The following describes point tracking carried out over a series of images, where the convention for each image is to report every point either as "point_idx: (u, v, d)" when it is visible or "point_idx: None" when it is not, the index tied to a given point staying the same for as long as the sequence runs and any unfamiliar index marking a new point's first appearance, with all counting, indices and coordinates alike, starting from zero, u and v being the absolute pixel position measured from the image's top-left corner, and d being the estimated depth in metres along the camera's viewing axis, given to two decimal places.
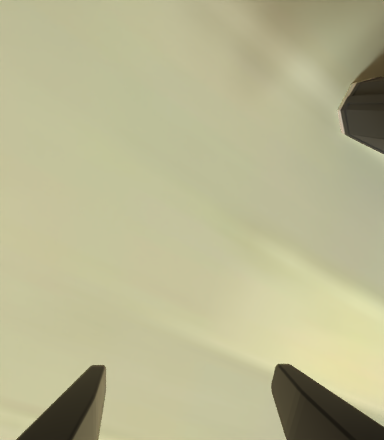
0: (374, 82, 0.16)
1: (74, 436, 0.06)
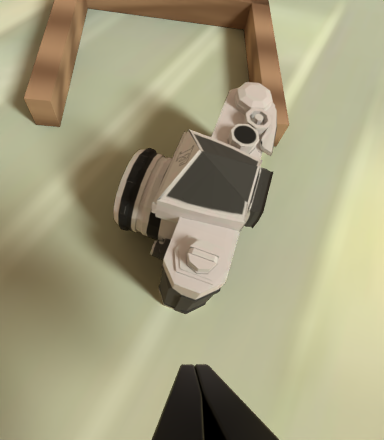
0: (166, 300, 0.20)
1: (204, 431, 0.06)
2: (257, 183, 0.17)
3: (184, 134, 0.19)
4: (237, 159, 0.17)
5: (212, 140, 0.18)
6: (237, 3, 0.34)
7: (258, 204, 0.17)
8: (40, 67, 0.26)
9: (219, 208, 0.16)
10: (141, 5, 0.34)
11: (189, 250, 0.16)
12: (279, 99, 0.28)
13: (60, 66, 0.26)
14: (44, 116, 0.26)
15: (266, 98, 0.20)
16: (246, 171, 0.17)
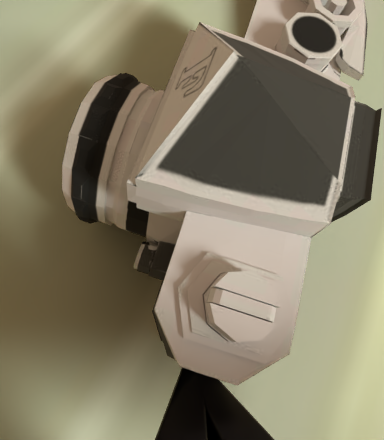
0: None
1: (207, 431, 0.06)
2: (350, 135, 0.08)
3: (190, 35, 0.09)
4: (312, 80, 0.08)
5: (250, 44, 0.09)
6: None
7: (356, 181, 0.08)
8: None
9: (276, 194, 0.07)
10: None
11: (212, 293, 0.07)
12: None
13: None
14: None
15: None
16: (332, 108, 0.08)
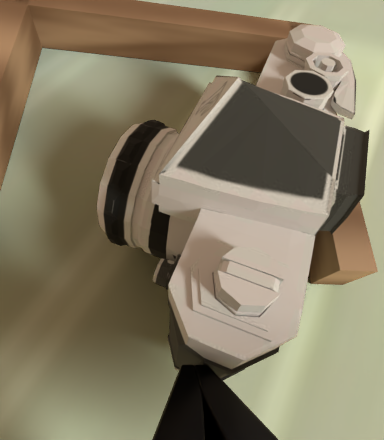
0: (178, 362, 0.12)
1: (205, 431, 0.06)
2: (343, 149, 0.10)
3: (209, 86, 0.12)
4: (305, 105, 0.09)
5: None
6: (270, 39, 0.22)
7: (352, 182, 0.09)
8: None
9: (278, 188, 0.09)
10: (123, 43, 0.22)
11: (220, 266, 0.08)
12: (354, 217, 0.16)
13: None
14: None
15: (336, 40, 0.13)
16: (323, 125, 0.09)
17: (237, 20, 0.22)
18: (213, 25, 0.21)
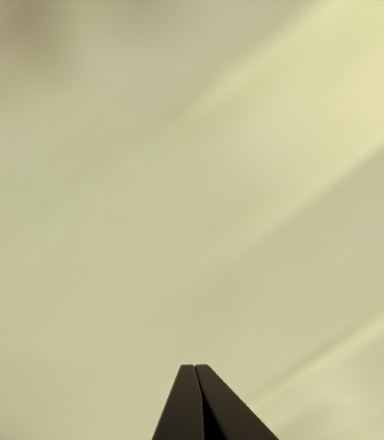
0: None
1: (204, 432, 0.06)
2: None
3: None
4: None
5: None
6: None
7: None
8: None
9: None
10: None
11: None
12: None
13: None
14: None
15: None
16: None
17: None
18: None
